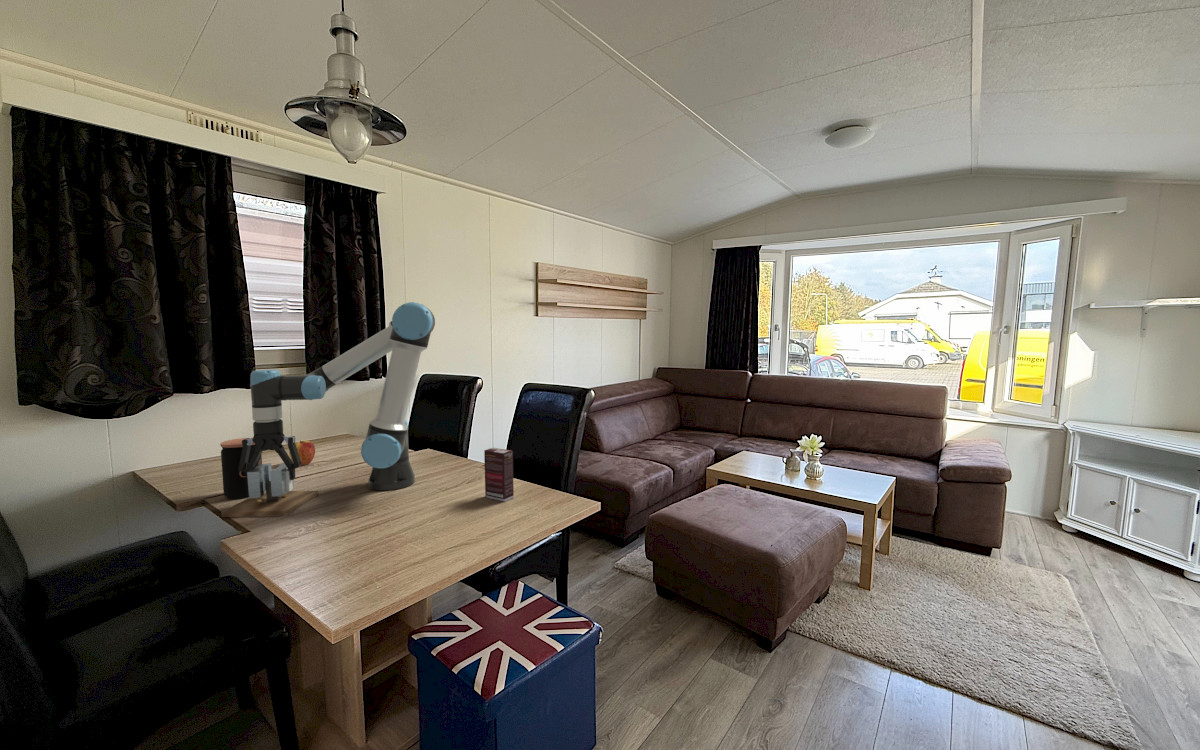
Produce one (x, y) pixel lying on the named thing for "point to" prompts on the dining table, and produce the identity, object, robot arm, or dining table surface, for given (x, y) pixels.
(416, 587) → the dining table surface
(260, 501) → the dowel pins
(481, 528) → the dining table surface
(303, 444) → the apple
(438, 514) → the dining table surface
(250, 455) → the coffee jar
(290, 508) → the post base
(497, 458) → the supplement box
